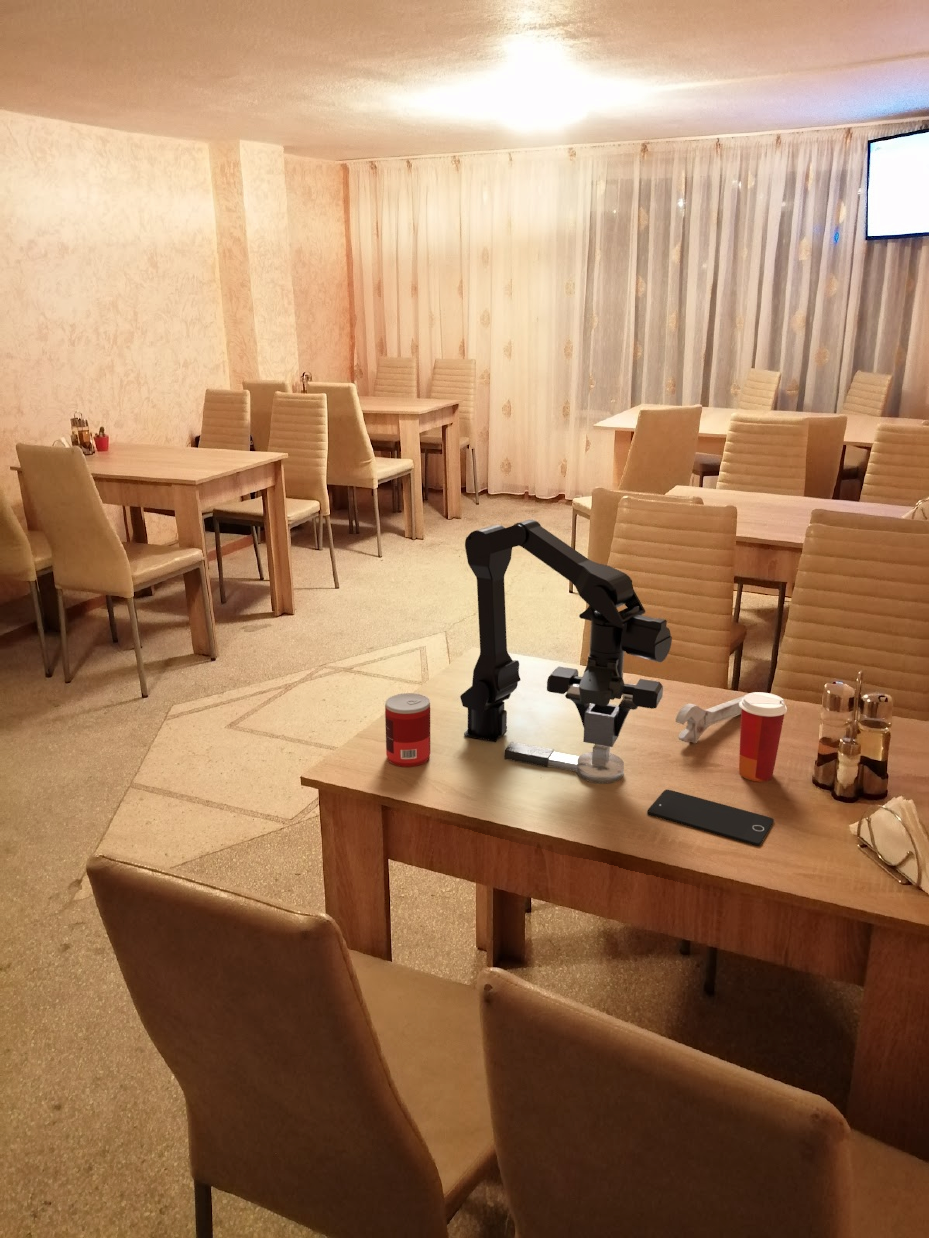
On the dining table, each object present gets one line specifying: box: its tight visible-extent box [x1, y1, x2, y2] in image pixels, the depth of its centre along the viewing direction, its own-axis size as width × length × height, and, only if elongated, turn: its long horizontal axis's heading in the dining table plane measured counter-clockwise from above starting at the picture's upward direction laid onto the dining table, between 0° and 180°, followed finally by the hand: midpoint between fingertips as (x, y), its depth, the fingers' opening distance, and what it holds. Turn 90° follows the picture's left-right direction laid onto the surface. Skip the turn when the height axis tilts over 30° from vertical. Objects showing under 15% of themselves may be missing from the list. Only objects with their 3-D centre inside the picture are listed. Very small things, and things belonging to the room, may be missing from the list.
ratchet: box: [503, 741, 625, 784], centre depth 166 cm, size 21×8×5 cm, turn 68°
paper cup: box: [738, 691, 788, 782], centre depth 162 cm, size 8×8×14 cm
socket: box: [582, 703, 620, 748], centre depth 161 cm, size 5×5×6 cm
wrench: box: [675, 695, 745, 744], centre depth 181 cm, size 8×2×30 cm
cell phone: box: [646, 789, 774, 847], centre depth 150 cm, size 9×18×1 cm, turn 58°
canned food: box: [384, 692, 431, 768], centre depth 167 cm, size 8×8×11 cm
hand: (601, 732), depth 162 cm, fingers closed on socket, 5 cm apart
